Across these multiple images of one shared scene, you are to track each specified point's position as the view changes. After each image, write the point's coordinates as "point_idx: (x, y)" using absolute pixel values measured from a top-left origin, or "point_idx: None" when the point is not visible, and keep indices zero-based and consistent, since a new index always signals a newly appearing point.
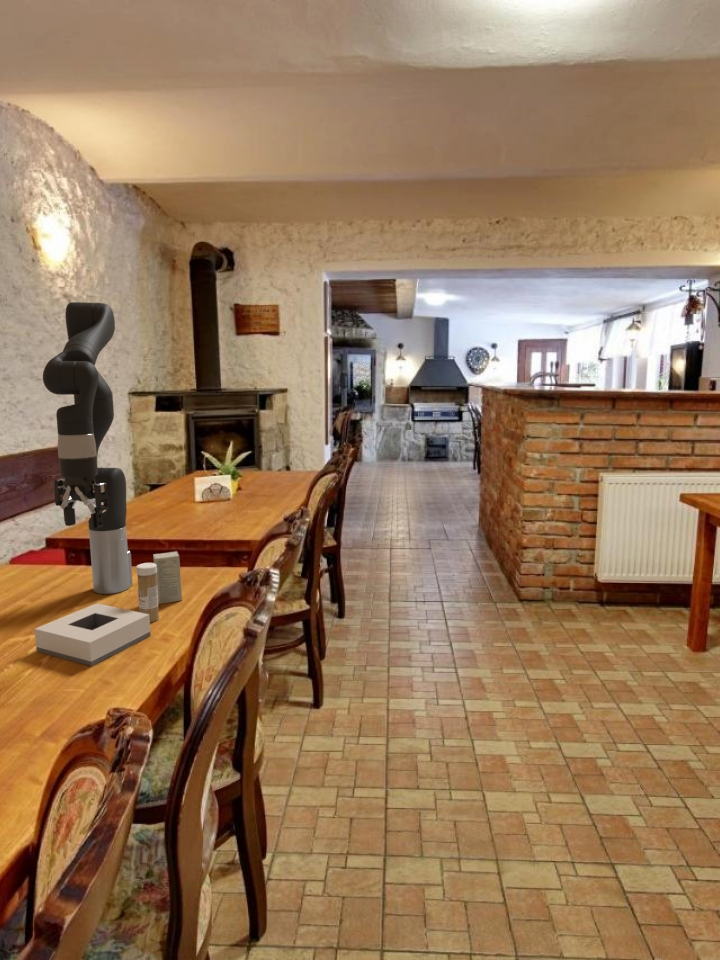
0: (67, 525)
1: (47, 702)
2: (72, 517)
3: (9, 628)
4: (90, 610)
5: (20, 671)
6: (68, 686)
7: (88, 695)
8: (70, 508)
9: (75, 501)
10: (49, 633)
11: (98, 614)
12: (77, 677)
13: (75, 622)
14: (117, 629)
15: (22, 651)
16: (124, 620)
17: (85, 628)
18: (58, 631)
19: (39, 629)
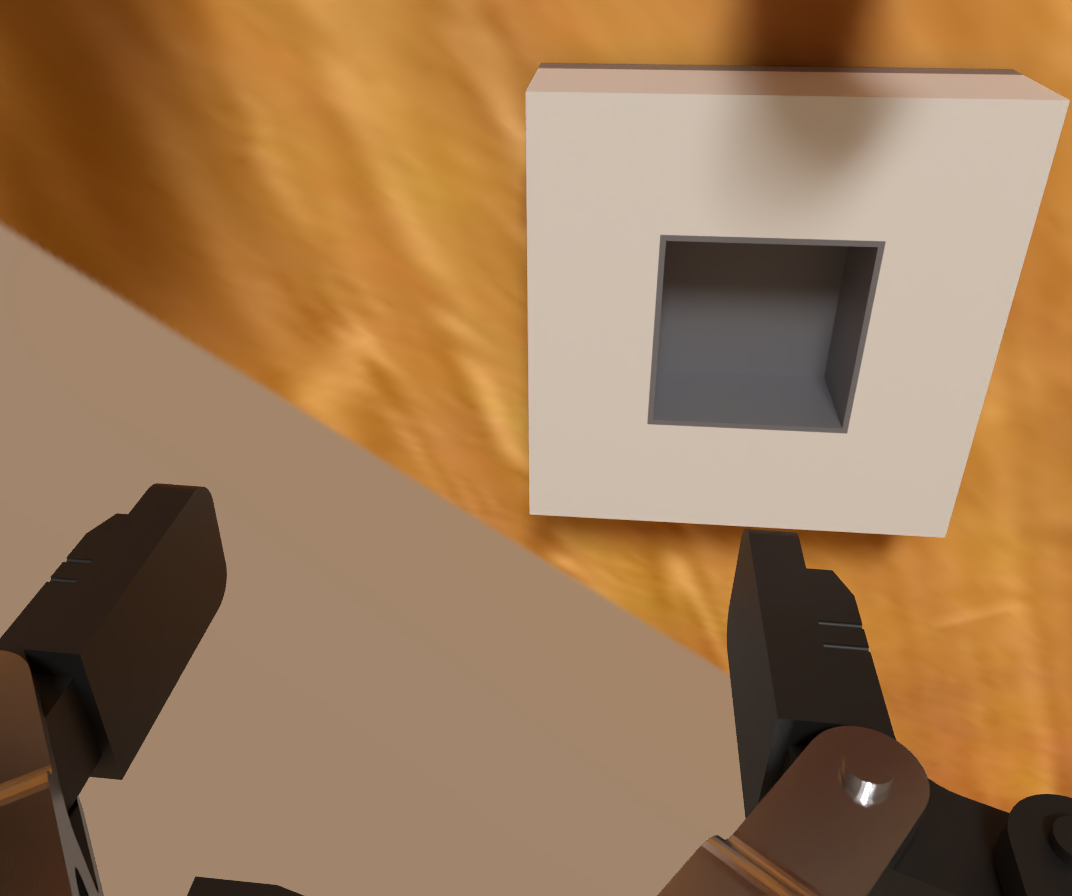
0: (222, 591)
1: (940, 689)
2: (169, 590)
3: (161, 319)
4: (597, 215)
5: (646, 582)
6: (934, 603)
7: (1064, 624)
8: (78, 715)
9: (57, 785)
10: (643, 517)
11: (698, 241)
12: (919, 548)
13: (654, 376)
14: (990, 374)
15: (482, 467)
16: (947, 255)
17: (789, 426)
18: (676, 498)
19: (561, 511)
